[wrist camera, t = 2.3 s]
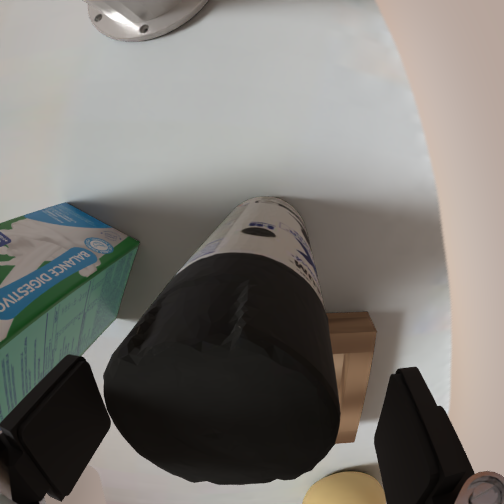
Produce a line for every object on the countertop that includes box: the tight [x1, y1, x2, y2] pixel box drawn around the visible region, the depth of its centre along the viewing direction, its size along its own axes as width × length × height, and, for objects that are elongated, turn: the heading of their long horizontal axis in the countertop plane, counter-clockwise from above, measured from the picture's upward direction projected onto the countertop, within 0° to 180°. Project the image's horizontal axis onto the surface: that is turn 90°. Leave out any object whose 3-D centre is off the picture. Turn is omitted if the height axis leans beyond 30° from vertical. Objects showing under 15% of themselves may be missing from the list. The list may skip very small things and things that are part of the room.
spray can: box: [103, 196, 341, 485], centre depth 17 cm, size 7×7×20 cm
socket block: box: [326, 312, 377, 444], centre depth 28 cm, size 14×14×4 cm
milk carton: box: [0, 202, 140, 434], centre depth 17 cm, size 9×9×25 cm
